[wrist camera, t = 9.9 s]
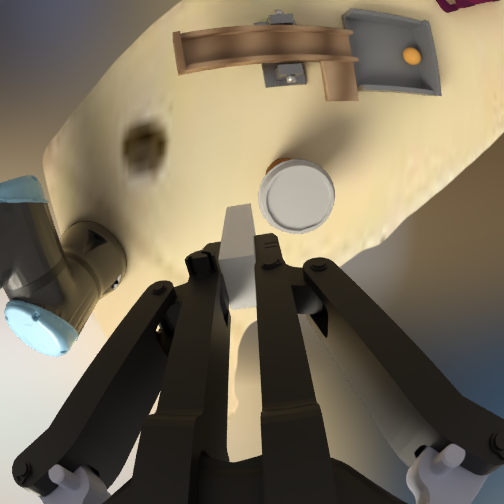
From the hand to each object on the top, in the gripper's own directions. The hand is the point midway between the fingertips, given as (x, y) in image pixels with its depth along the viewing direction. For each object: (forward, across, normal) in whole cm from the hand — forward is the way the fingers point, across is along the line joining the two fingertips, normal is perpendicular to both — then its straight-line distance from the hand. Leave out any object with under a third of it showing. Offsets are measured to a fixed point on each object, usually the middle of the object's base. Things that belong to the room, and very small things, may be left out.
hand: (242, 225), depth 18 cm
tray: (+26, +26, +16) cm, 40 cm away
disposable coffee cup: (+27, +6, -4) cm, 28 cm away
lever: (+21, +6, +13) cm, 25 cm away
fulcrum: (+26, +8, +16) cm, 32 cm away
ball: (+25, +30, +16) cm, 42 cm away
